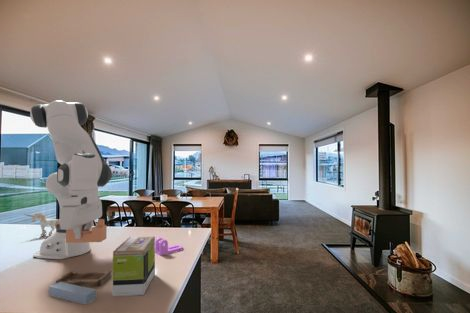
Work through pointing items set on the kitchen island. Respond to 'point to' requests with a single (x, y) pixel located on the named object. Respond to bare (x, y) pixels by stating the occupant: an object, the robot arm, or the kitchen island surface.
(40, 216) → the unicorn figurine
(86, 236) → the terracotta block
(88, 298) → the panel
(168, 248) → the bracket
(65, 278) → the cradle
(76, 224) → the robot arm
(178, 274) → the kitchen island surface
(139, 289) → the tea box
